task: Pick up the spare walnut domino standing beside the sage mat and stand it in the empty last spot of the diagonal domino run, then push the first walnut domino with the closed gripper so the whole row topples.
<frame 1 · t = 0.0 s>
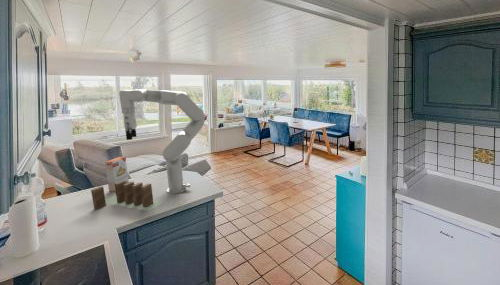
hand: (131, 138, 173), 37 cm above the worktop, tool pointing down, fingers open, 9 cm apart
cracker box: (119, 188, 192), on the worktop
domino 5: (100, 208, 161), on the worktop
domino 2: (139, 203, 163), resting on mat
domino 4: (122, 201, 168), resting on mat
mat: (131, 203, 166), on the worktop
domino 3: (131, 202, 166), resting on mat
domino 1: (148, 205, 161), resting on mat
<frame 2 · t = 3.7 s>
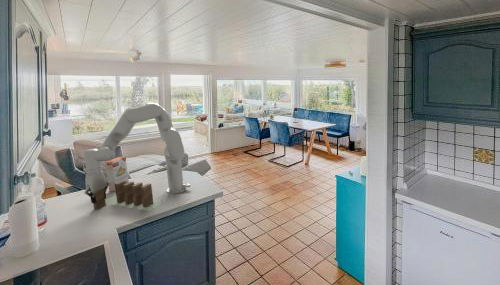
hand: (99, 200, 160), 5 cm above the worktop, tool pointing down, fingers closed on domino 5, 5 cm apart
domino 5: (100, 208, 161), on the worktop, touching gripper
everything else where it was.
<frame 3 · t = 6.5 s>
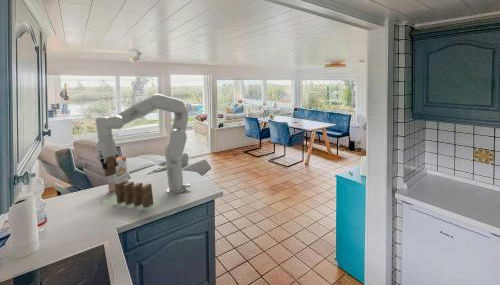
hand: (109, 167, 167), 21 cm above the worktop, tool pointing down, fingers closed on domino 5, 5 cm apart
domino 5: (111, 174, 167), point 17 cm above the worktop, touching gripper
everything else where it was.
when the fingers open (6 cm above the worktop, at t = 9.3 s): domino 5 stays where it is, resting on mat.
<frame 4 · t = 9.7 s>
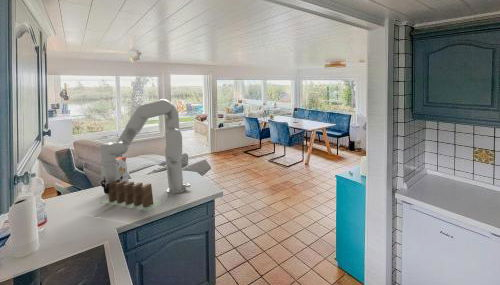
hand: (113, 190, 170), 7 cm above the worktop, tool pointing down, fingers open, 9 cm apart
domino 5: (114, 199, 171), resting on mat
everything else where it was.
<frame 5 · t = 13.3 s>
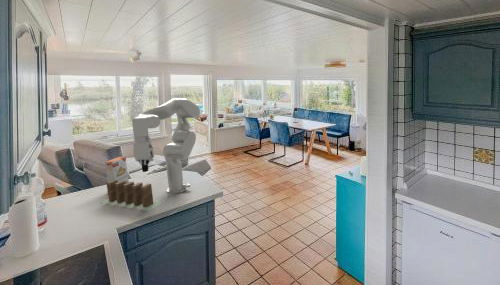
hand: (145, 171, 156), 21 cm above the worktop, tool pointing down, fingers closed
nothing on the worktop moved.
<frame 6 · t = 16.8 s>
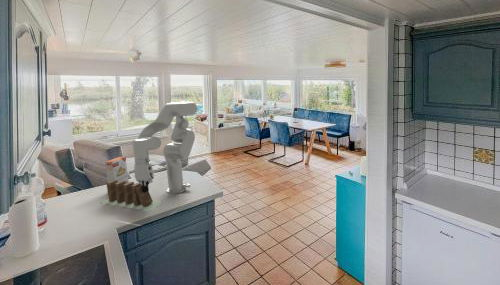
hand: (145, 191, 160), 9 cm above the worktop, tool pointing down, fingers closed
domino 2: (139, 203, 163), point 1 cm above the worktop, touching domino 1, mat
domino 1: (148, 204, 161), point 1 cm above the worktop, tilted 22°, touching domino 2, mat
everything else where it was.
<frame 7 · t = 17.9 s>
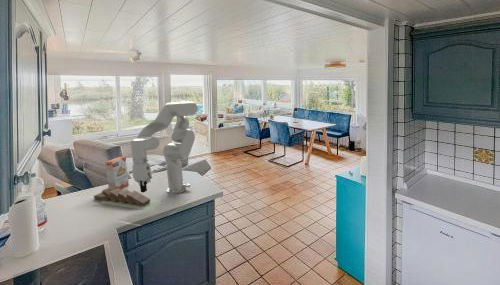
hand: (143, 191, 160), 9 cm above the worktop, tool pointing down, fingers closed
domino 5: (112, 197, 171), point 2 cm above the worktop, tilted 90°, touching domino 4, mat
domino 2: (137, 201, 164), point 2 cm above the worktop, tilted 68°, touching domino 1, domino 3, mat
domino 4: (120, 199, 169), point 2 cm above the worktop, tilted 68°, touching domino 3, domino 5, mat
domino 3: (128, 200, 166), point 2 cm above the worktop, tilted 69°, touching domino 2, domino 4, mat
domino 1: (146, 202, 161), point 2 cm above the worktop, tilted 69°, touching domino 2, mat
everything else where it was.
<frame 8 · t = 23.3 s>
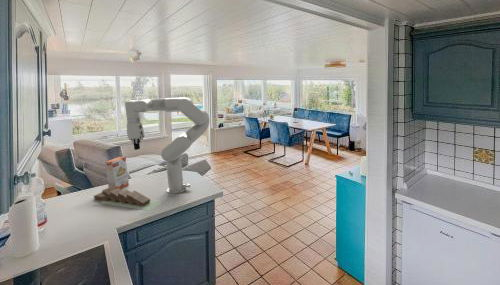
hand: (137, 149, 177), 29 cm above the worktop, tool pointing down, fingers closed
nothing on the worktop moved.
at the end: domino 5 tilted 90°; domino 3 tilted 69°; domino 5 inside the target area on the mat (1.0 cm from its centre), point 1.7 cm above the mat's base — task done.
